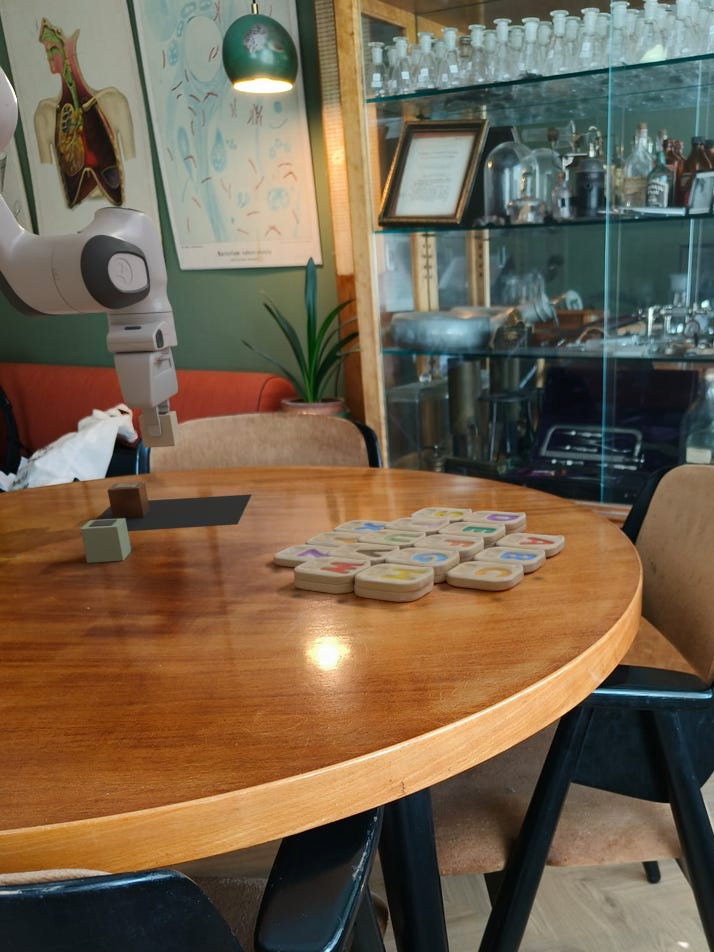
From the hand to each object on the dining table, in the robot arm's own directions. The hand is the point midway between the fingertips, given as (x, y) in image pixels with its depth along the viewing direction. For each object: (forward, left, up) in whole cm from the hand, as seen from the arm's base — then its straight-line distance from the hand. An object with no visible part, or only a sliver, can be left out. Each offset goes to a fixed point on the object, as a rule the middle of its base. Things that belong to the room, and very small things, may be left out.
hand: (160, 433), depth 131 cm
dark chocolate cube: (-6, 0, -12) cm, 14 cm away
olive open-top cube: (-4, -22, -13) cm, 26 cm away
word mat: (0, 0, -13) cm, 13 cm away
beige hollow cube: (0, 0, -2) cm, 2 cm away
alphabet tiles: (+36, -31, -13) cm, 49 cm away
